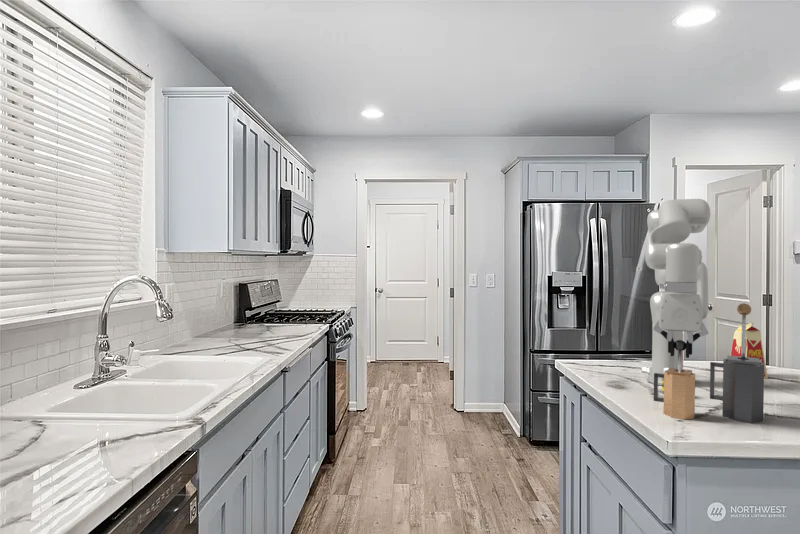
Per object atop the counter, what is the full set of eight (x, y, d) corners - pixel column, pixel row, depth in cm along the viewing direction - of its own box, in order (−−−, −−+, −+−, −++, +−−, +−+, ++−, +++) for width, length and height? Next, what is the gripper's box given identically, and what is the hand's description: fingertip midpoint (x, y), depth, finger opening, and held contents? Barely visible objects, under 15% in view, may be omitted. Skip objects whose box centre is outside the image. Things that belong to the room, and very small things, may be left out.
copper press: (652, 414, 139) (652, 370, 138) (655, 408, 145) (655, 365, 145) (693, 420, 133) (694, 374, 133) (695, 414, 139) (695, 370, 139)
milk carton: (768, 379, 184) (769, 323, 183) (742, 378, 184) (743, 323, 184) (750, 373, 193) (751, 320, 193) (726, 373, 193) (727, 320, 193)
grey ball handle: (672, 402, 138) (673, 340, 138) (673, 399, 140) (674, 338, 140) (685, 403, 136) (686, 341, 136) (685, 401, 139) (686, 339, 139)
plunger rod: (735, 380, 136) (737, 303, 136) (735, 378, 139) (736, 302, 139) (750, 382, 134) (751, 304, 134) (749, 379, 137) (751, 303, 137)
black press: (709, 416, 137) (710, 358, 137) (710, 408, 145) (711, 353, 144) (763, 424, 131) (764, 363, 130) (761, 416, 138) (762, 358, 138)
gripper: (645, 288, 139) (644, 355, 139) (716, 290, 130) (715, 362, 131) (649, 287, 146) (648, 351, 146) (716, 289, 137) (715, 357, 137)
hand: (679, 355), depth 138 cm, fingers closed on grey ball handle, 3 cm apart
